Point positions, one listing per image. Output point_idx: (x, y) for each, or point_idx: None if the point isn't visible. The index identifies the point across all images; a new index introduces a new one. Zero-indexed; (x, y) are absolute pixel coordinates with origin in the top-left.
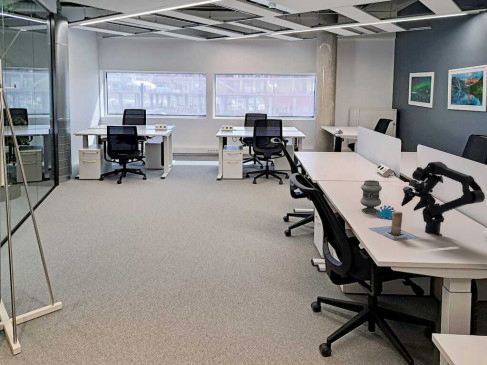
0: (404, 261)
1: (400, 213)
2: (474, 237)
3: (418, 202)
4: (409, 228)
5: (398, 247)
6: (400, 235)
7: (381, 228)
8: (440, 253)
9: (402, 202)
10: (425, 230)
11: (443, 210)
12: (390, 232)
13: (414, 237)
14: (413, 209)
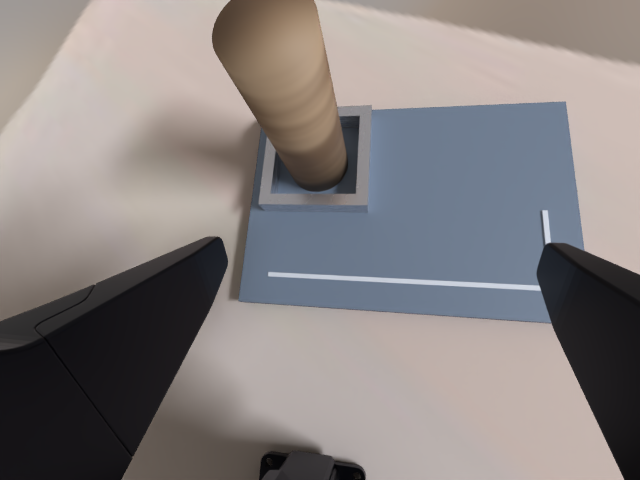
0: (73, 32)
1: (219, 33)
2: None
3: (93, 308)
4: (524, 469)
5: (200, 101)
6: (272, 160)
7: (531, 193)
8: (45, 231)
9: (595, 265)
10: (324, 464)
11: None
12: (358, 145)
13: (259, 269)
14: (215, 237)
